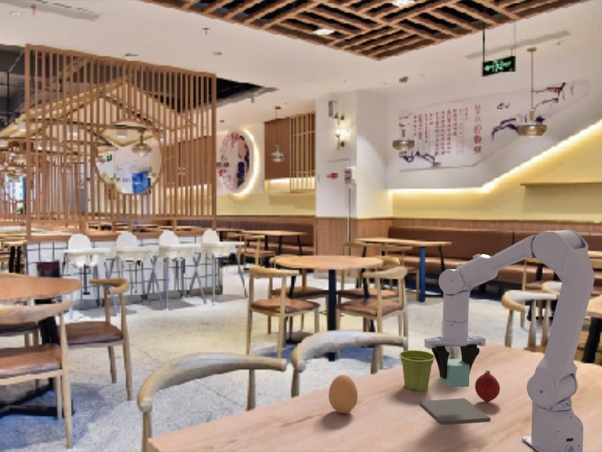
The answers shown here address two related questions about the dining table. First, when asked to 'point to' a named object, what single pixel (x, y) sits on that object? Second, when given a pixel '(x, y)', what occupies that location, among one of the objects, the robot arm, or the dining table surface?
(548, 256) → the robot arm
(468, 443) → the dining table surface
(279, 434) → the dining table surface
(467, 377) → the cube
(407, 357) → the plant pot
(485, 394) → the onion
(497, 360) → the dining table surface
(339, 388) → the egg
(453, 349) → the beer glass
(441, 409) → the mat
